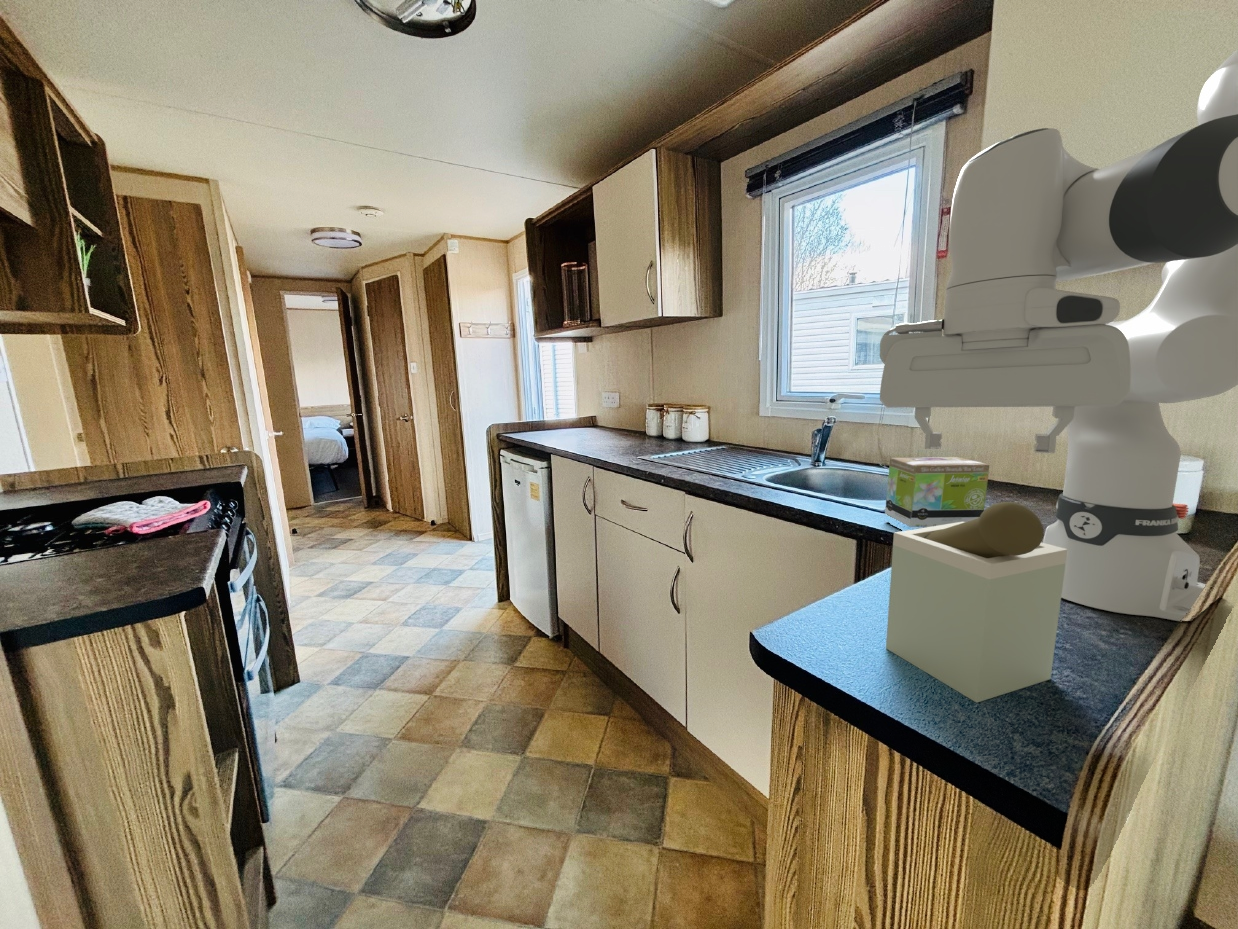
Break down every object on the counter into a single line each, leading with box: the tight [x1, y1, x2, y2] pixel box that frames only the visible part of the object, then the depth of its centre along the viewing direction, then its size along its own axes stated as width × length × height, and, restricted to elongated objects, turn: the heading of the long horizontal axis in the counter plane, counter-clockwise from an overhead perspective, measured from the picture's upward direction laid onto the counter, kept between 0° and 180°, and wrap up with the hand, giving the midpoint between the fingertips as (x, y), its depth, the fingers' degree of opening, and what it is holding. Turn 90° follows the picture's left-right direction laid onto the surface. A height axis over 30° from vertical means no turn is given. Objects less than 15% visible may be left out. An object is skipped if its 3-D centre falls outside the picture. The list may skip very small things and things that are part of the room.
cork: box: [924, 501, 1045, 558], centre depth 52 cm, size 6×6×11 cm
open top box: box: [885, 522, 1068, 704], centre depth 56 cm, size 11×11×14 cm
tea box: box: [884, 456, 990, 528], centre depth 105 cm, size 15×10×15 cm
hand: (985, 450), depth 53 cm, fingers open, 8 cm apart
